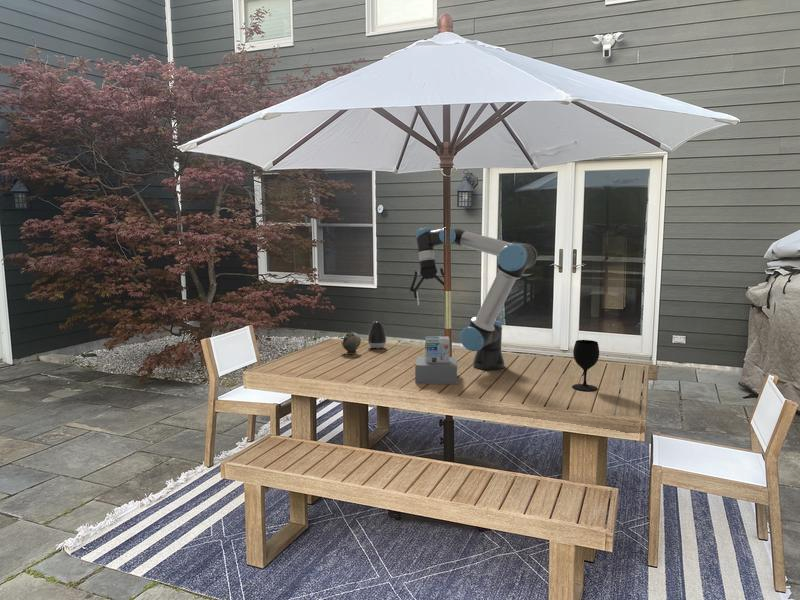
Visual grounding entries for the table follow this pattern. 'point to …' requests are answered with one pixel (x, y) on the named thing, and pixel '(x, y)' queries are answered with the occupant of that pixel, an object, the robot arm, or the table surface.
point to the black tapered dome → (377, 335)
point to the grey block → (436, 371)
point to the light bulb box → (437, 349)
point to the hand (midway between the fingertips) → (432, 303)
